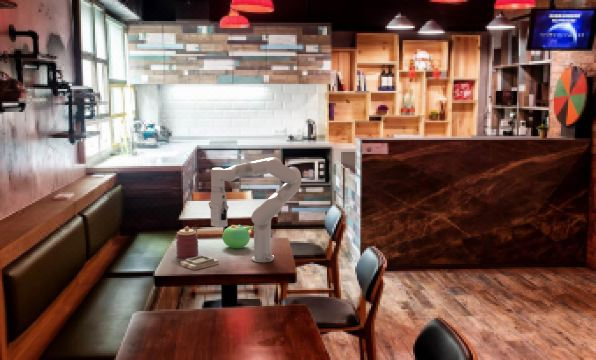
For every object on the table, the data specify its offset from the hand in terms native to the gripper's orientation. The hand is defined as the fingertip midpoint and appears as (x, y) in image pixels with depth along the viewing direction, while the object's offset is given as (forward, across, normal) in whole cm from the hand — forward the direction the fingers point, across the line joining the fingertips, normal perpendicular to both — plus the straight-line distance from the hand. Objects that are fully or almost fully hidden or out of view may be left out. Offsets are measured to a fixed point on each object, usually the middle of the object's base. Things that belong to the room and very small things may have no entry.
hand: (218, 218), depth 371 cm
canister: (+24, +18, +10) cm, 31 cm away
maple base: (+24, -2, +16) cm, 28 cm away
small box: (+4, 0, 0) cm, 4 cm away
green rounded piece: (+24, +11, -23) cm, 35 cm away
